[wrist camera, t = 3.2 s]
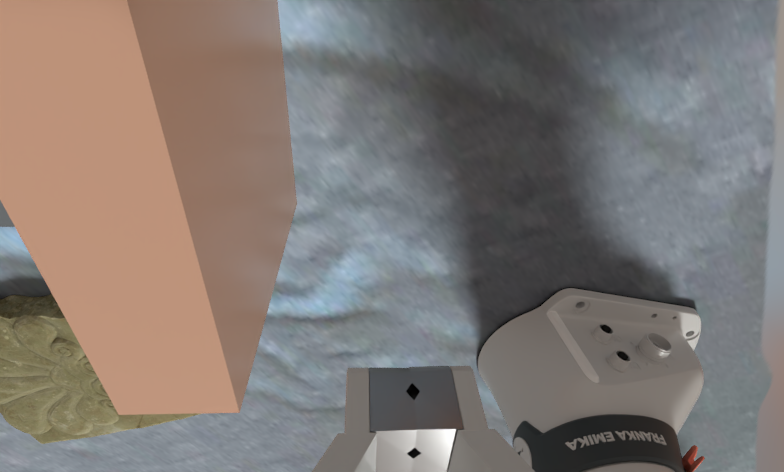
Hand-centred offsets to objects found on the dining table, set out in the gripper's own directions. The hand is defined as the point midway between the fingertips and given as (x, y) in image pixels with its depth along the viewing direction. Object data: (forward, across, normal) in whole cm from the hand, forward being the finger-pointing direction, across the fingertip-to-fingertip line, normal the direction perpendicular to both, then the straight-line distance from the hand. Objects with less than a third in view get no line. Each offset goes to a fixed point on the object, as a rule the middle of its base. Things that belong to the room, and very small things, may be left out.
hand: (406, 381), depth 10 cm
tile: (+22, +9, 0) cm, 24 cm away
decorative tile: (+23, +29, +26) cm, 45 cm away
